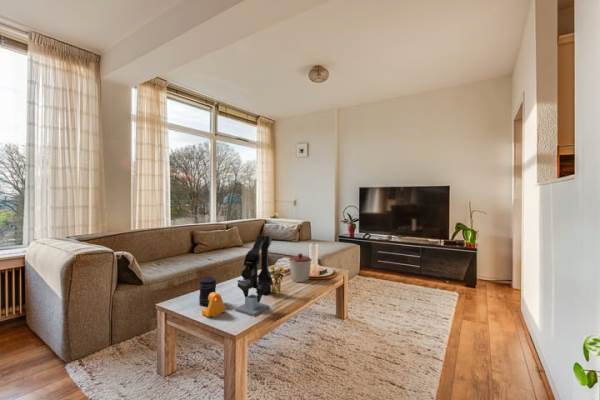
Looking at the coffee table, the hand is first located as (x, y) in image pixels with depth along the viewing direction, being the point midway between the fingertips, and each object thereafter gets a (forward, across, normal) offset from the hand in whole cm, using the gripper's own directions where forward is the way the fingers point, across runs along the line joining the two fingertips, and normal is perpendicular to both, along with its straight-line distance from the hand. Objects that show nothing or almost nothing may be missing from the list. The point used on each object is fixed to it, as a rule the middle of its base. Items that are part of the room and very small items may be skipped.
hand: (252, 300), depth 166 cm
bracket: (+6, -15, -16) cm, 23 cm away
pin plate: (+5, 0, 0) cm, 5 cm away
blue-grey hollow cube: (+4, 0, 0) cm, 4 cm away
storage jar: (+6, -29, -8) cm, 31 cm away
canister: (+6, -5, +62) cm, 63 cm away
